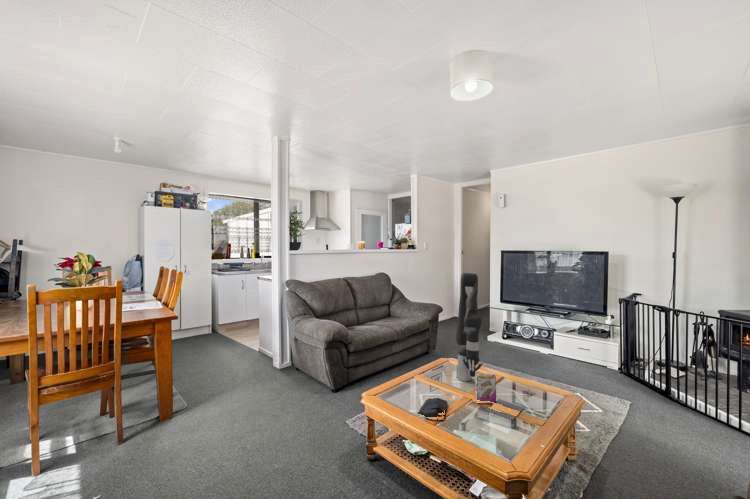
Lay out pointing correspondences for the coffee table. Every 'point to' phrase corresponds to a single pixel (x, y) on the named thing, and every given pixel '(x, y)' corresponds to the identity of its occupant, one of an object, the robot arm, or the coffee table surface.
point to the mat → (506, 404)
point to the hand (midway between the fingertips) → (472, 376)
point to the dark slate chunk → (433, 407)
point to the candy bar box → (485, 387)
